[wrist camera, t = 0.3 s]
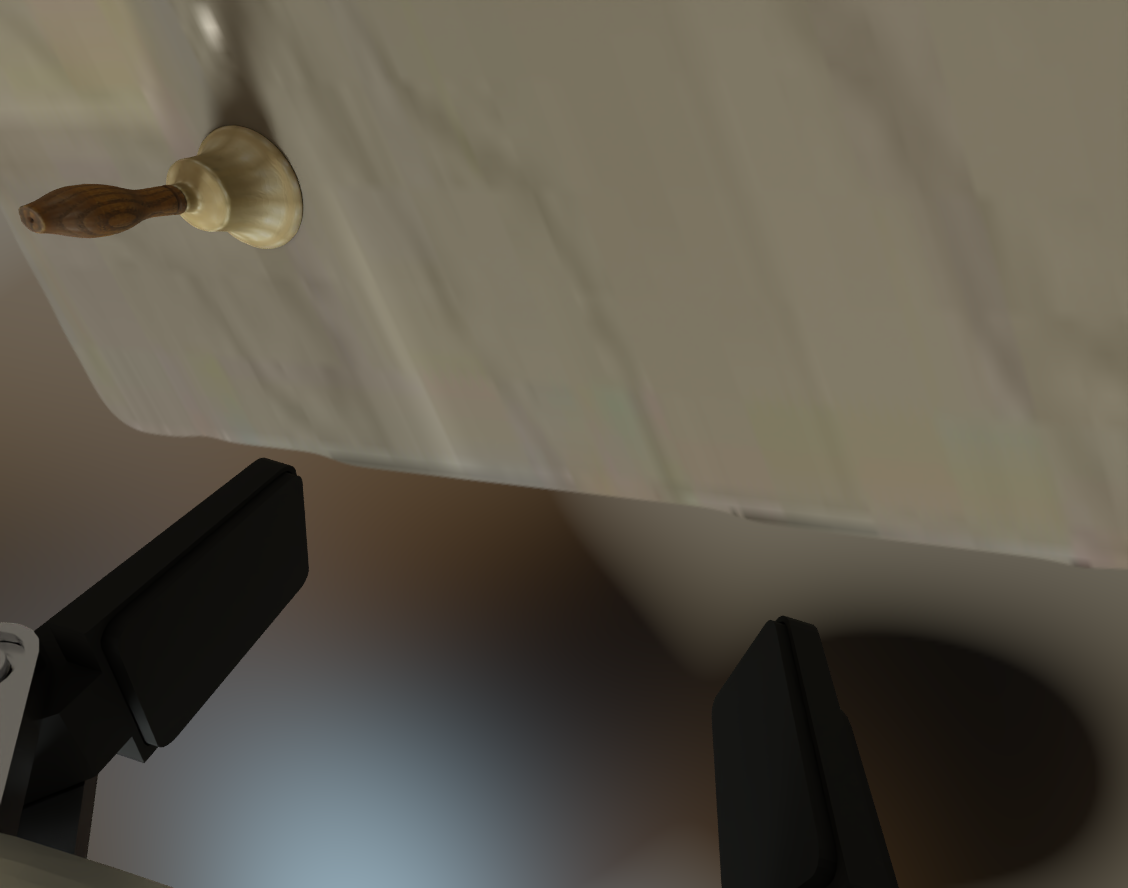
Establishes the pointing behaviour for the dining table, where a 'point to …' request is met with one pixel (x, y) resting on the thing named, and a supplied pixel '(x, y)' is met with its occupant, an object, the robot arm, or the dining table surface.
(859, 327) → the dining table surface
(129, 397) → the dining table surface
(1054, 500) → the dining table surface
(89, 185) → the hand bell
